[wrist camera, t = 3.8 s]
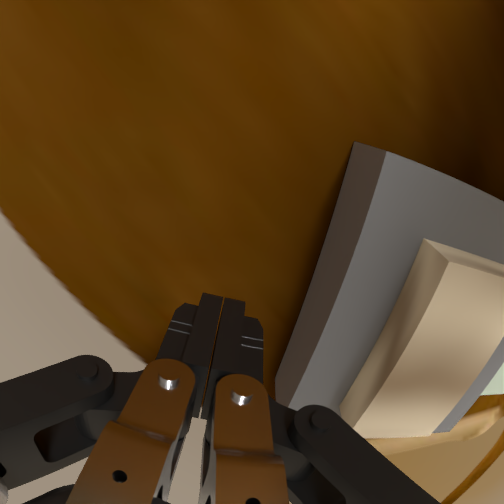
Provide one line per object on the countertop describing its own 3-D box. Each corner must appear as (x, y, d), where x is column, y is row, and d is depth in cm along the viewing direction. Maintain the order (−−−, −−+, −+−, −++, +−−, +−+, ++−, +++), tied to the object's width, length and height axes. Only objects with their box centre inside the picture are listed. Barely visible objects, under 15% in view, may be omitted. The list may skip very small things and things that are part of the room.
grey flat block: (354, 141, 13) (386, 150, 10) (524, 213, 14) (566, 238, 10) (275, 378, 19) (276, 429, 15) (430, 391, 19) (449, 431, 16)
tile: (423, 238, 11) (449, 261, 9) (504, 264, 11) (530, 286, 9) (339, 406, 14) (345, 437, 12) (418, 408, 14) (429, 436, 13)
